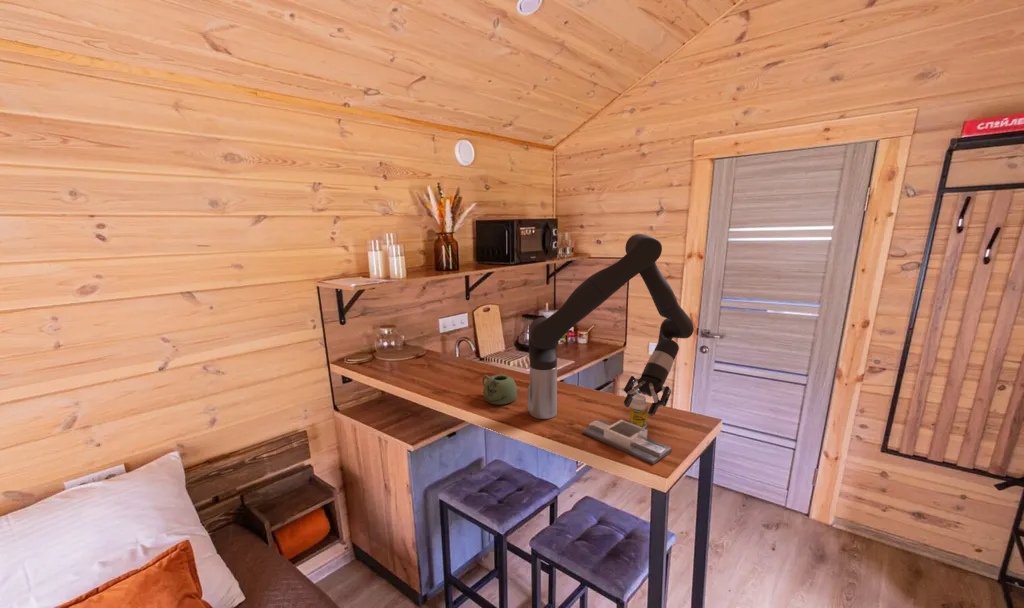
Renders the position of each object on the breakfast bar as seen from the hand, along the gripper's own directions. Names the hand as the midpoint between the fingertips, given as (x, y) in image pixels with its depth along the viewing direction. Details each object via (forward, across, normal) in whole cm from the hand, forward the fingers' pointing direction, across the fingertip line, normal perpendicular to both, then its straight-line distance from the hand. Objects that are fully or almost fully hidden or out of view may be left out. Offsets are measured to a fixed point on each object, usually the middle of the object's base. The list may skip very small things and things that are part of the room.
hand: (637, 410), depth 132 cm
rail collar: (+12, +3, -4) cm, 13 cm away
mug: (+17, -48, -9) cm, 52 cm away
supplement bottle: (+4, 0, +4) cm, 6 cm away
